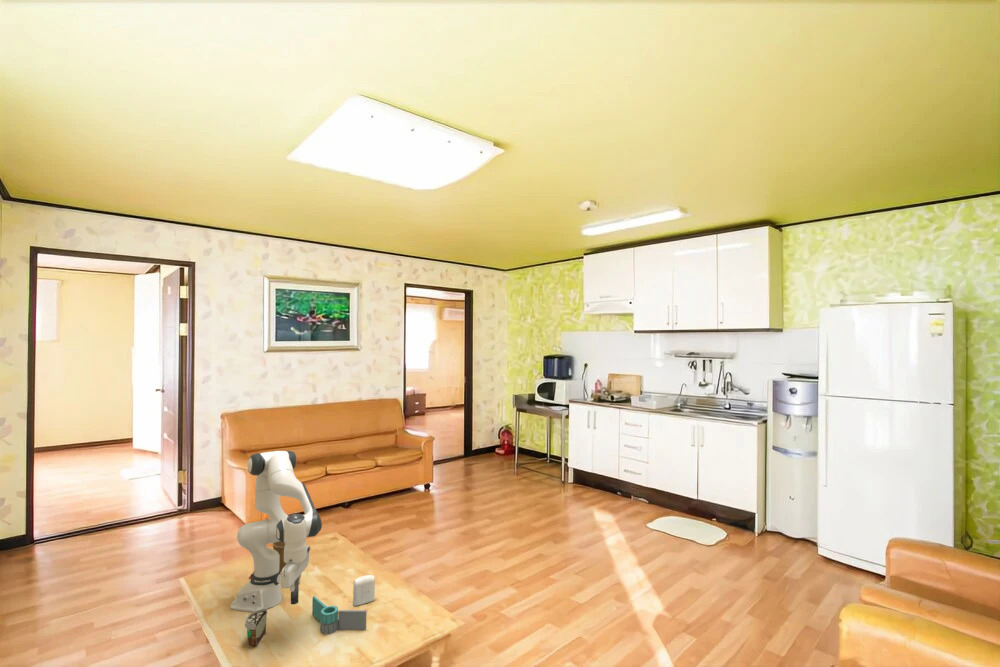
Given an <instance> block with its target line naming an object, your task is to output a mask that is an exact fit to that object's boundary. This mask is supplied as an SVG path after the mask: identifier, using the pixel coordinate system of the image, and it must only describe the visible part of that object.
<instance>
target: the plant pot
mask: <svg viewBox="0 0 1000 667" xmlns="http://www.w3.org/2000/svg"><path fill="white" fill-rule="evenodd" d="M284 547H285V543H282V542H275V543H272V549H274V550H276V551H277V552H278V553H279V555H280V564H279V568H280V573H281V572H282V569H283V568H284V567H285V565H286V564H287V563H285V562H284Z"/></svg>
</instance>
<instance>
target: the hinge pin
mask: <svg viewBox="0 0 1000 667" xmlns="http://www.w3.org/2000/svg"><path fill="white" fill-rule="evenodd" d="M294 585H295V590H294V591H290V605H297V604H298V603H299V590H300V589H299V588H300V584H299V577H298V578H297V579H296V580H295V583H294Z"/></svg>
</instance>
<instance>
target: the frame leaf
mask: <svg viewBox="0 0 1000 667" xmlns="http://www.w3.org/2000/svg"><path fill="white" fill-rule="evenodd" d="M366 630H367V610H366V609H365V610H364V609H353V610H351V609H338V620H337V621H336V622H334V623H331V624H323V623H322V622H320V633H321V634H323V635H331V634H333V633H336V631H366Z"/></svg>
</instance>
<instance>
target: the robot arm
mask: <svg viewBox="0 0 1000 667" xmlns="http://www.w3.org/2000/svg"><path fill="white" fill-rule="evenodd" d="M297 461H298V459H297V454H296V453H295V451H294V450H293V451H292V450H273V451H265V452H261V453H260V452H257V453H253V454H251V455H250V456H249V458H248V461H247V466H246V467H247V471H248V473H249V474H250V475H252V476H256V478H255V485H254V487H255V488H254V508H255V509H256V510H257V512H261V513H263V514H265V515H268V516H269V518H268V519H263V520H259V521H252V522H249V523H245V524H243V525H242V526H241V527H239V529H238V531H237V534H236V541H237V542H238V544H239V546H241V547H243V549H246V550H247V551H248V552H249V553H250V554H251V556H252V558H253V572H252V573H250V576H248V582H247V583H245V584H244V585H243V586H242V587H241V588H240V589H238V590H239V591H238V592H237V595H236V598H234V599H233V601H232V602H231V603H230V610H234V611H243V612H251V613H253V612H255V611H258V610H262V609H267V610H268V609H270V608H273V607H275V606H277V605H278V604H280V603H282V601H283V599H284V598H283V594H282V590H281V589H289V591H290V592H291V591H294V590H295V585H294V583H295V580H296V579H297V578H298V577H299V585H300V581H301V577H302V574H303V572H305V569H307V567H308V565H309V563H310V562H309V561H310V552H311V545H307V538H310V537H311V538H312V537H313V538H314V537H316V536H317V535H318V534H319V533H320V532H321V530H322V526H323V522H322V518H321V516H320V514H319V512H318V511H317V509H316V507H315V505H314V502H313V500H312V498H311V495H310V493H309V491H308V488H307V486H306V485H305V483H304V482H302V481H300V480H299V479H298V478H297V477H296V475H295V471H294V470H295V468H296V467H297ZM281 497H287V498H288V497H289V498H293V499H295V500H297V501H299V504H301V507H302V510H303V513H304V514H301V513H293V514H290V515H288V514H287V513H286V512H285V511H284V509H283V507H282V504H281ZM275 542H282V543H285V547H284V562H285V563H287V564H286V565H285V567H284V568H283V569H282V572H280V568H279V564H280V555H279V553H278V552H277V551H276V550H274V549H273V548H269V547H268V546H266V545H269V544H273V543H275Z"/></svg>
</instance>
